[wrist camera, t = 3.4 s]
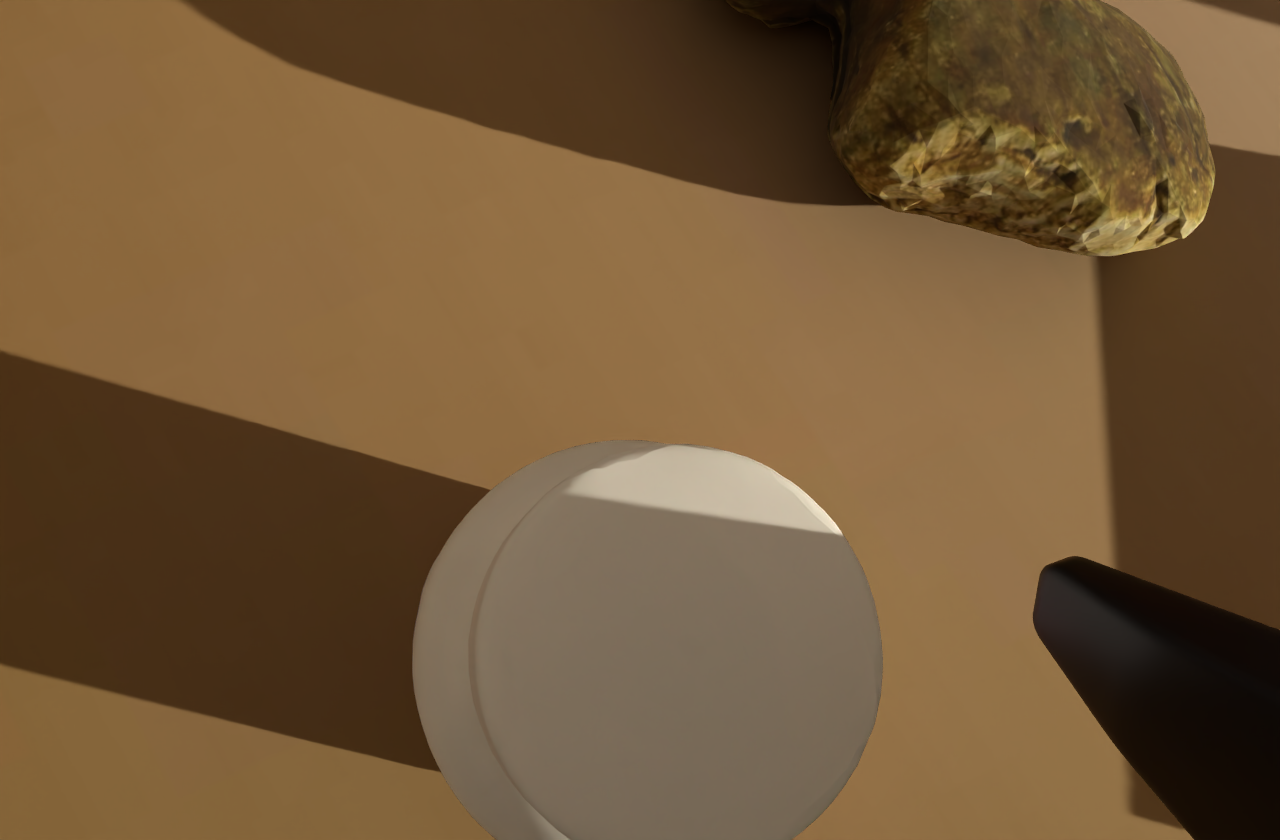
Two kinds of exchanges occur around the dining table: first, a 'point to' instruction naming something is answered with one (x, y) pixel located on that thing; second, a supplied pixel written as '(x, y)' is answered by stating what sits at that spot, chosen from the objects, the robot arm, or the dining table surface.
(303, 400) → the dining table surface
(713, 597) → the pill bottle
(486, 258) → the dining table surface
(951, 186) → the sculpture
